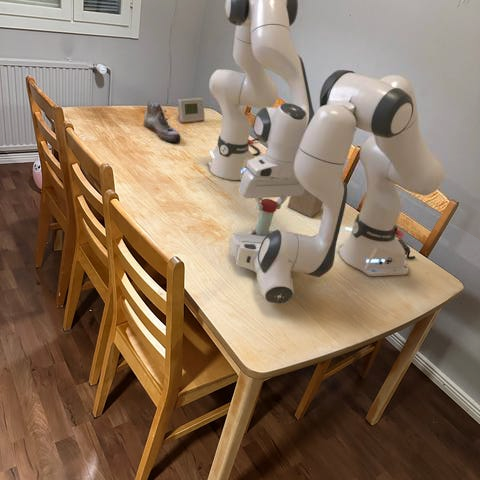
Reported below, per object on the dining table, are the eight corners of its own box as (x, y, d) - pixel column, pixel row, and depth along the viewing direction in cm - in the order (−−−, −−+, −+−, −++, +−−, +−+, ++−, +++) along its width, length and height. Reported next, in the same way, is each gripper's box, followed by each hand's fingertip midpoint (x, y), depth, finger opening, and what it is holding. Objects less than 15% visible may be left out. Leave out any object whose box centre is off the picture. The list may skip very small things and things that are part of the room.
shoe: (184, 144, 195) (187, 117, 189) (160, 144, 190) (163, 116, 183) (163, 123, 212) (165, 98, 206) (141, 123, 207) (143, 97, 200)
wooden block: (310, 217, 160) (327, 167, 149) (286, 207, 163) (301, 157, 153) (321, 209, 167) (337, 160, 157) (298, 198, 171) (312, 150, 160)
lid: (258, 210, 126) (260, 204, 125) (260, 202, 131) (262, 197, 130) (275, 214, 126) (276, 208, 125) (276, 206, 130) (278, 201, 129)
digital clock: (179, 123, 216) (182, 102, 211) (171, 117, 222) (173, 96, 216) (207, 123, 225) (211, 102, 220) (199, 116, 231) (202, 96, 225)
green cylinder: (249, 249, 135) (260, 204, 126) (253, 243, 138) (264, 199, 130) (261, 254, 134) (273, 209, 126) (265, 247, 137) (277, 203, 129)
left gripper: (303, 160, 128) (291, 201, 136) (241, 160, 119) (232, 205, 126) (315, 169, 124) (302, 212, 131) (252, 171, 114) (242, 216, 122)
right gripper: (306, 253, 123) (295, 226, 134) (235, 246, 119) (230, 219, 130) (300, 270, 126) (290, 243, 138) (231, 264, 122) (226, 237, 133)
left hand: (267, 208), depth 129 cm, fingers closed on lid, 5 cm apart
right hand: (260, 232), depth 134 cm, fingers closed on green cylinder, 4 cm apart
